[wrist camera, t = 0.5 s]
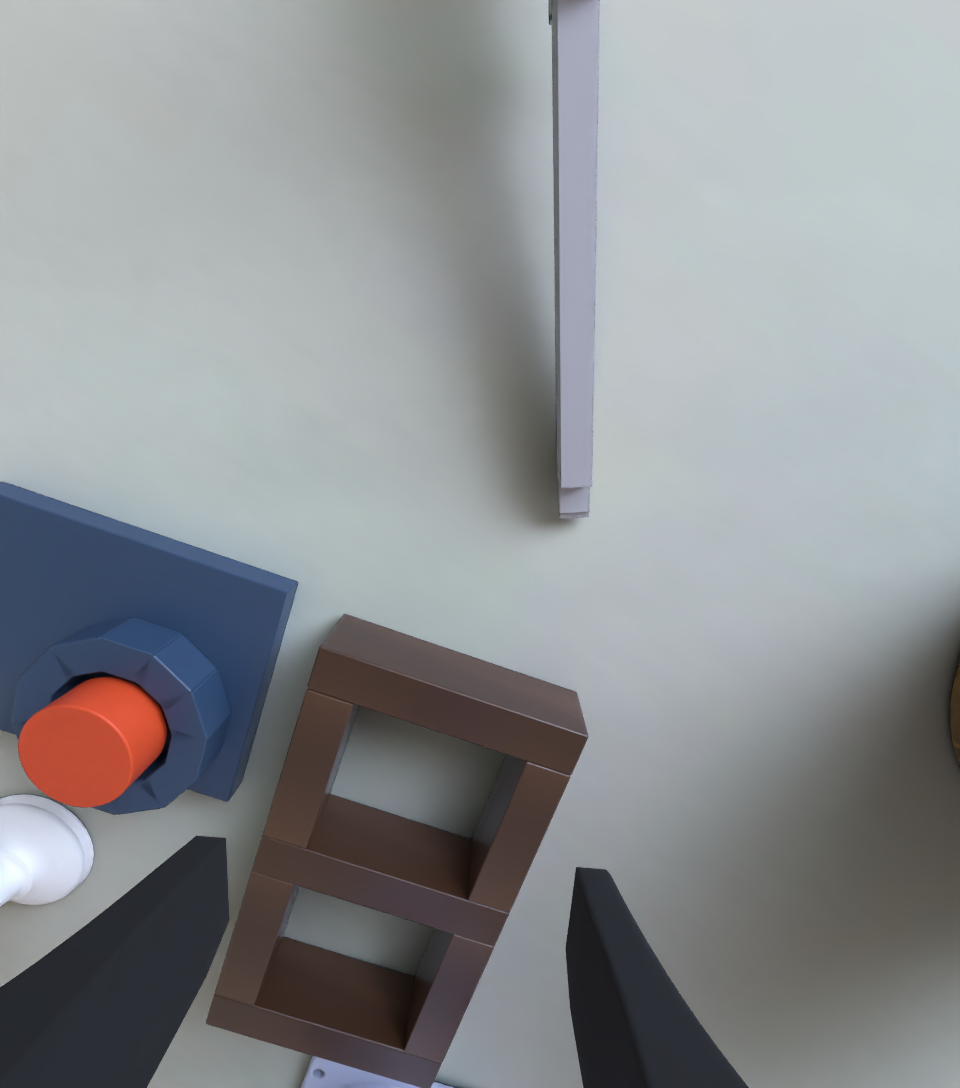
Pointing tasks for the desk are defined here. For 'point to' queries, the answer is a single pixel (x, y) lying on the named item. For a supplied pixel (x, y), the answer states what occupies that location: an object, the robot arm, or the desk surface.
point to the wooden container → (956, 715)
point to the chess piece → (40, 850)
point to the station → (138, 636)
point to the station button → (92, 741)
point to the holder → (393, 855)
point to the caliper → (574, 241)
